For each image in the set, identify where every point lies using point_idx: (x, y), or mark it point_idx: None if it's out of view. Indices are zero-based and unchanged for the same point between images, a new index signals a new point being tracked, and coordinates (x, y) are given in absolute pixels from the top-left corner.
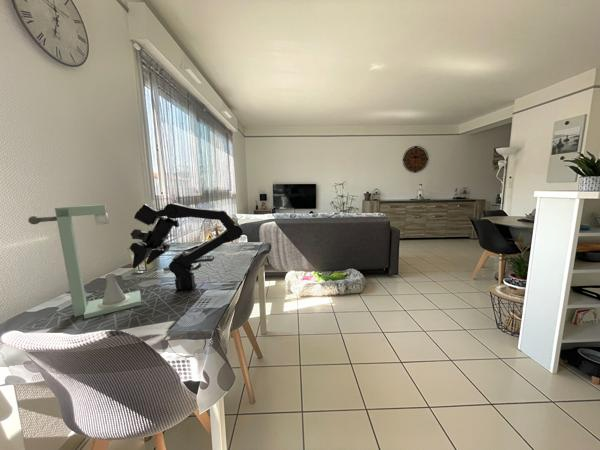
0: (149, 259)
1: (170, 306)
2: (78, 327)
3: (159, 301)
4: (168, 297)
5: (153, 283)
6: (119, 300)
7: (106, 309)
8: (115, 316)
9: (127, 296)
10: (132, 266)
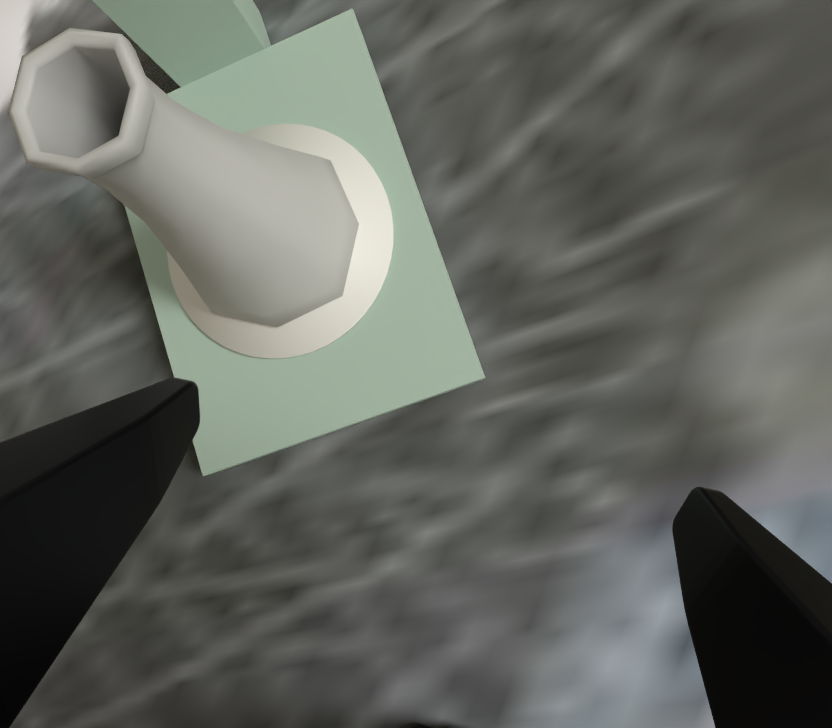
0: (737, 610)
1: (113, 715)
2: (17, 174)
3: (242, 605)
4: (304, 670)
5: (796, 422)
6: (205, 302)
7: (139, 249)
8: (88, 344)
9: (338, 317)
10: (159, 388)
